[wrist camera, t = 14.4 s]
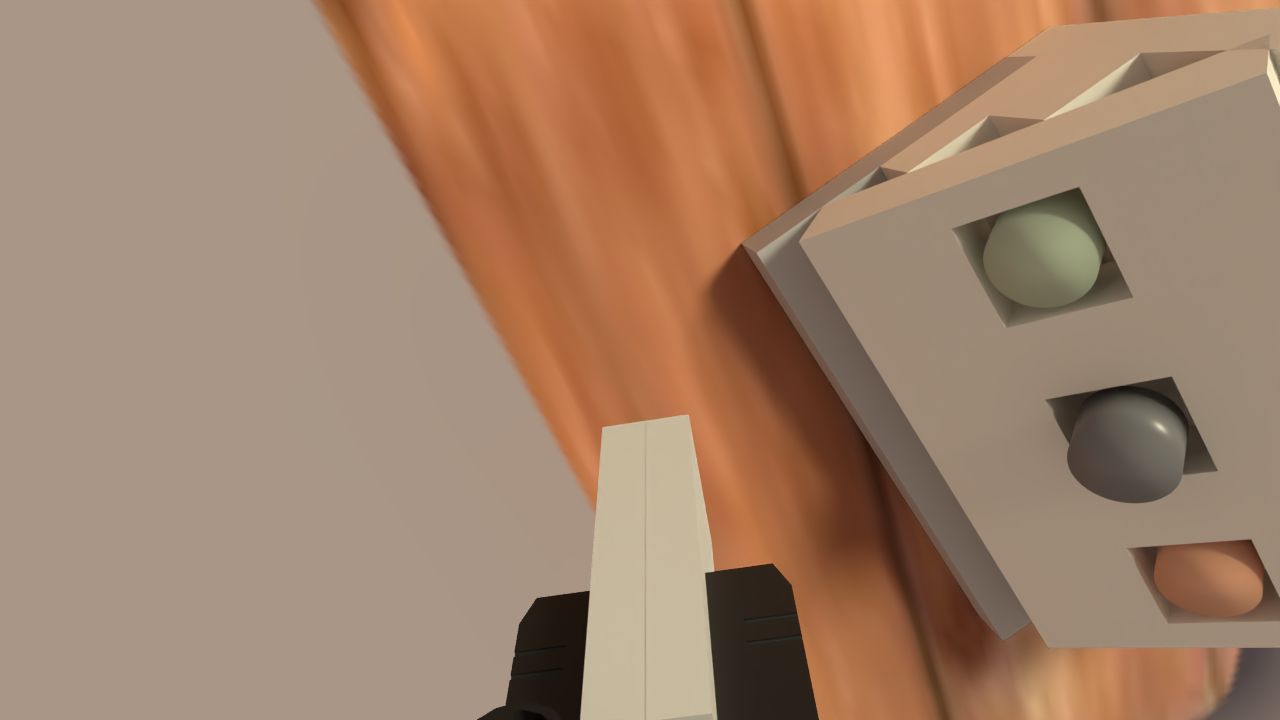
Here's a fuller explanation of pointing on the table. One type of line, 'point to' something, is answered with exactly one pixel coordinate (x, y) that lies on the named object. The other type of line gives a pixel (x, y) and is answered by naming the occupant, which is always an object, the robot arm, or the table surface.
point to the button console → (1066, 318)
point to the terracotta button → (1211, 577)
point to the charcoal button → (1128, 444)
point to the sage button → (1045, 251)
